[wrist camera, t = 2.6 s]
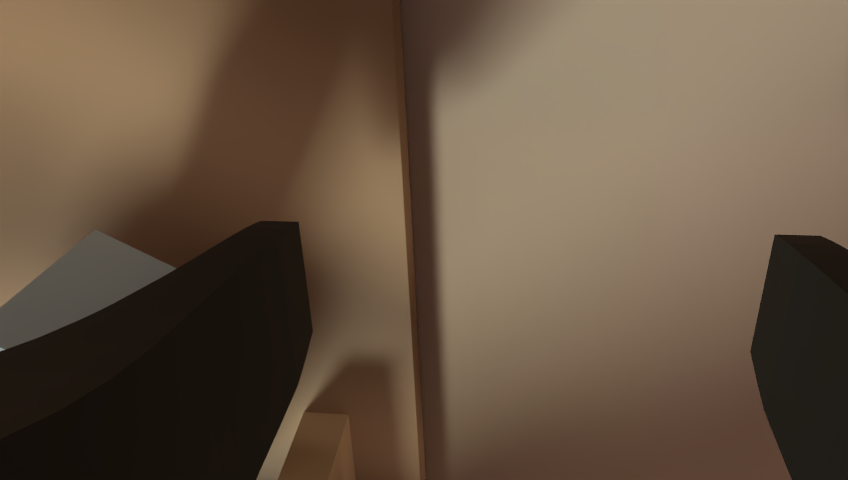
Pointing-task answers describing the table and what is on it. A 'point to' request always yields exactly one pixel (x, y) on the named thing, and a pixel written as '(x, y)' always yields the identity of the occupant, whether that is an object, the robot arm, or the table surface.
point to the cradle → (233, 181)
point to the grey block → (77, 287)
